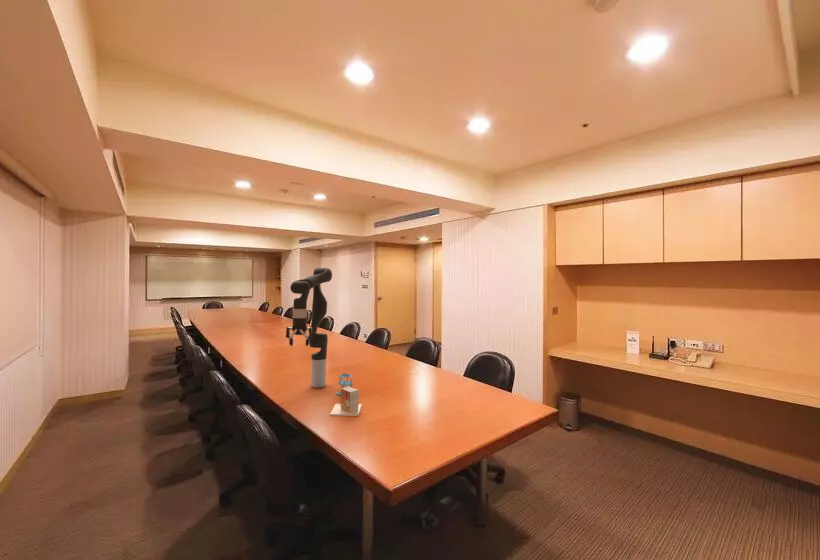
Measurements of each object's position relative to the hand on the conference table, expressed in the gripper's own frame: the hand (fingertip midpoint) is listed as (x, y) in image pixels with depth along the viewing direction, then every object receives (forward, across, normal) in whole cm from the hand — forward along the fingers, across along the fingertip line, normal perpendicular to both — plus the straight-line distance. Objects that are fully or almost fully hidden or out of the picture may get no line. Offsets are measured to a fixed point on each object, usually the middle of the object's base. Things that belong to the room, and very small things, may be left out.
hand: (299, 345), depth 190 cm
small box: (+30, -32, +16) cm, 46 cm away
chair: (+30, -25, -9) cm, 40 cm away
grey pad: (+30, -30, +15) cm, 45 cm away
